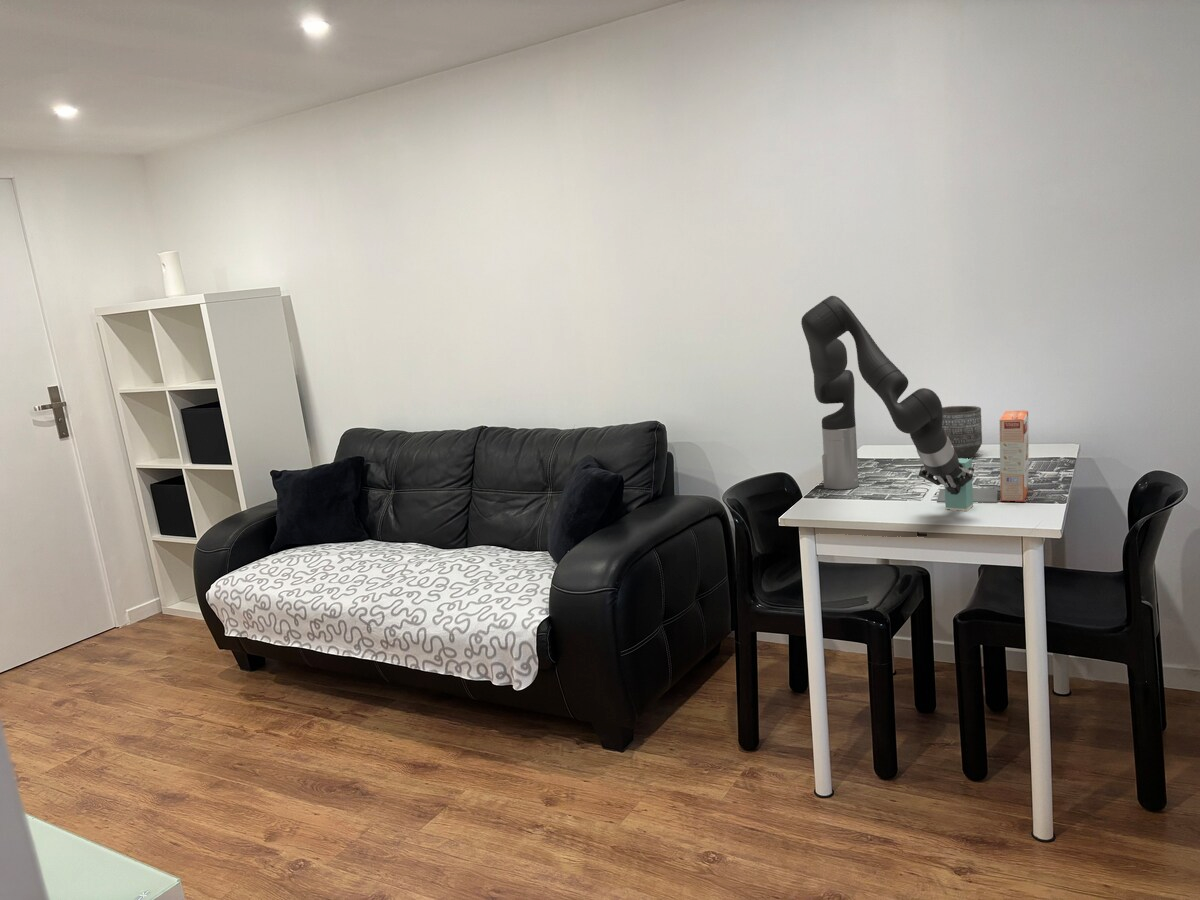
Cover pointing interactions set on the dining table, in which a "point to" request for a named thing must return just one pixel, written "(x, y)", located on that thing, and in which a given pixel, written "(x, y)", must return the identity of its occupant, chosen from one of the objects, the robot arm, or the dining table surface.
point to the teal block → (961, 492)
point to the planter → (963, 429)
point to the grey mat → (976, 495)
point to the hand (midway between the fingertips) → (955, 491)
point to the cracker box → (1014, 456)
